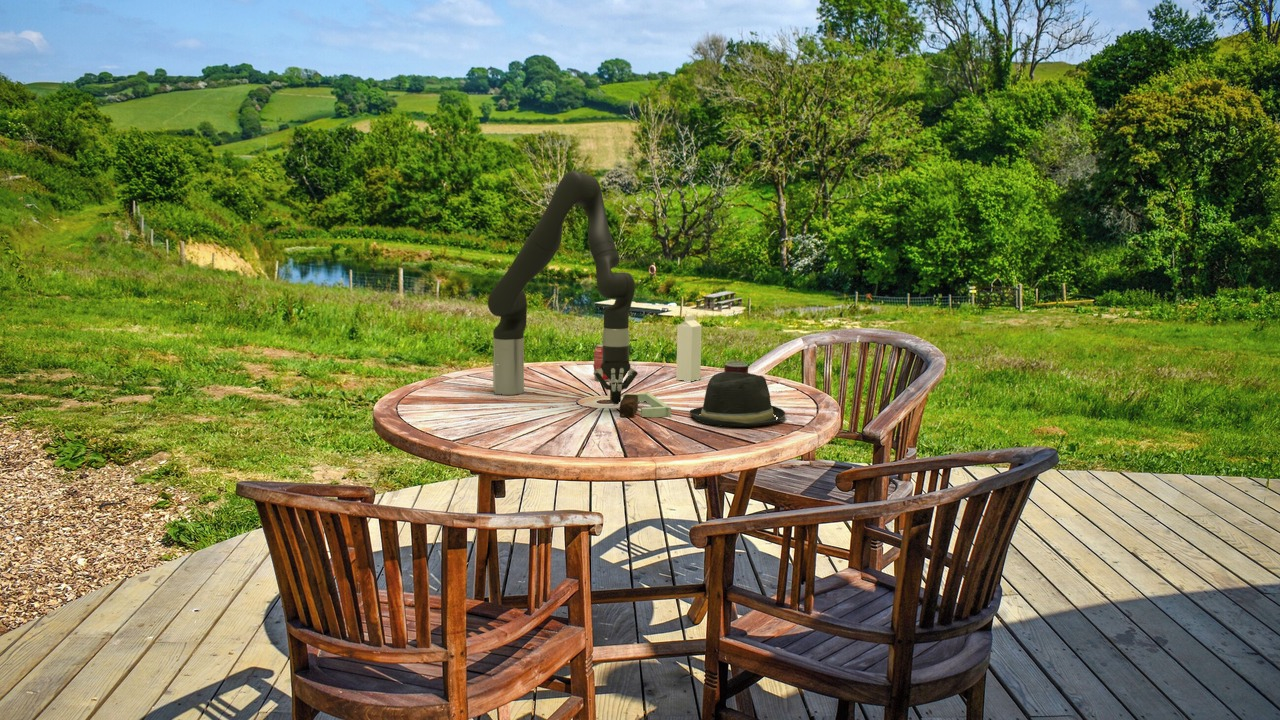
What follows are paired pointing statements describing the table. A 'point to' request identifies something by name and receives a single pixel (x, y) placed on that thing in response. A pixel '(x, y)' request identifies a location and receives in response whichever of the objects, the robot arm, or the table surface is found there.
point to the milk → (688, 350)
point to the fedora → (737, 401)
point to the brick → (629, 405)
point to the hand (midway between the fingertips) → (615, 403)
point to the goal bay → (653, 406)
